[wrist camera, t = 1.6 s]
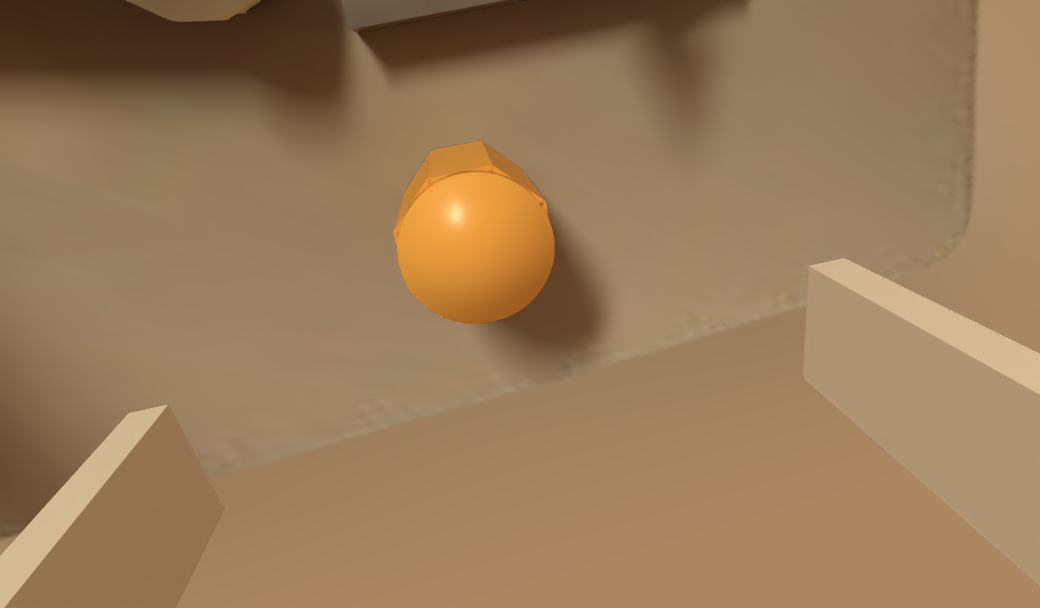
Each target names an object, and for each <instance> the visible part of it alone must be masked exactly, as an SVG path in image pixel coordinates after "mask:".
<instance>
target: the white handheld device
mask: <svg viewBox="0 0 1040 608" xmlns="http://www.w3.org/2000/svg"><path fill="white" fill-rule="evenodd" d="M125 1H128V2H130V3H132V4H134V5H137V6H139V7H141V8H143V9H146V10H148V11H150V12H152V13H155V14H157V15H159V16H161V17H164V18H166V19H168V20H170V21H178V22H192V21H218V20H228V19H230V18H231V17H233V16H234V15H235V14H247V10H248V9H250V8H251V7H253V6H254V5H256V4H257V3H259V2H260V1H262V0H125Z"/></svg>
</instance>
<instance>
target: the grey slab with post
mask: <svg viewBox="0 0 1040 608" xmlns="http://www.w3.org/2000/svg"><path fill="white" fill-rule="evenodd" d="M520 1H525V0H341V2H342V6H343V9H344V13H345V17H346V20H347V24H348V28H349V30H352V31H354V32H360V31H366V30H371V29H376V28H381V27H387V26H392V25H397V24H403V23H408V22H413V21H419V20H424V19H429V18H435V17H440V16H445V15H451V14H456V13H461V12H467V11H472V10H477V9H483V8H488V7H493V6H498V5H504V4H509V3H514V2H520Z"/></svg>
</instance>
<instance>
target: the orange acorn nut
mask: <svg viewBox="0 0 1040 608" xmlns="http://www.w3.org/2000/svg"><path fill="white" fill-rule="evenodd" d="M393 234H394V238H395V241H396V245H397V248H398V261H399V265H400V270H401V272H402V275H403V278H404V280H405V282H406V284H407V286H408V288H409V290H410V292H412V293H413V295H414V296H415V297H416V298H417V299H418V300H419V301H420V302H421V303H422V304H423V305H424V306H426V307H427V308H428V309H430V310H431V311H433V312H434V313H436V314H438V315H440V316H442V317H444V318H447V319H450V320H453V321H457V322H462V323H472V324H477V323H488V322H494V321H497V320H501V319H504V318H506V317H509V316H511V315H513V314H515V313H516V312H518V311H520V310H521V309H523V308H524V307H525V306H527V305H528V304H529V303H530V302H531V301H532V300H533V299H534V298H535V297H536V296H537V295H538V294H539V292H540V291H541V290H542V288H543V286H544V285H545V283H546V281H547V279H548V277H549V275H550V272H551V269H552V266H553V262H554V261H555V257H554V252H555V243H554V235H553V230H552V227H551V224H550V221H549V219H548V213H547V206H546V201H545V200H544V198H543V197H542V196H541V194H540V193H539V192H538V190H537V189H536V188H535V186H534V185H533V184H532V182H531V181H530V180H529V178H528V177H527V176H526V174H525V173H524V172H523V170H522V169H521V168H519V167H518V166H516V165H515V164H514V163H512V162H511V161H509V160H508V159H506V158H505V157H504V156H502V155H501V154H499V153H498V152H496V151H495V150H493V149H492V148H491V147H489V146H488V145H486V144H485V143H483V142H482V141H476V142H471V143H466V144H461V145H456V146H451V147H446V148H441V149H436V150H431V151H430V152H429V154H428V156H427V157H426V159H425V160H424V162H423V164H422V165H421V167H420V169H419V170H418V172H417V173H416V175H415V177H414V178H413V180H412V182H411V183H410V185H409V186H408V188H407V190H406V191H405V193H404V196H403V200H402V203H401V207H400V210H399V214H398V218H397V221H396V225H395V228H394V232H393Z"/></svg>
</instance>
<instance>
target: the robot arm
mask: <svg viewBox="0 0 1040 608" xmlns="http://www.w3.org/2000/svg"><path fill="white" fill-rule="evenodd" d="M804 352H805V353H804V370H803V378H804V379H805V380H806V381H807V382H808V383H809V384H811V385H812V386H813V387H814V388H815V389H816V390H817V391H818V392H820V393H821V394H822V395H823V396H824V397H825V398H826V399H828V400H829V401H830V402H831V403H832V404H833V405H834V406H836V407H837V408H838V409H839V410H840V411H841V412H842V413H844V414H845V415H846V416H847V417H848V418H849V419H850V420H852V421H853V422H854V423H855V424H856V425H857V426H858V427H859V428H861V429H862V430H863V431H864V432H865V433H866V434H867V435H869V436H870V437H871V438H872V439H873V440H874V441H876V442H877V443H878V444H879V445H880V446H881V447H882V448H883V449H885V450H886V451H887V452H888V453H889V454H890V455H891V456H892V457H894V458H895V459H896V460H897V461H898V462H899V463H900V464H902V465H903V466H904V467H905V468H906V469H908V471H910V472H911V473H912V474H913V475H914V476H915V477H917V478H918V479H919V480H920V481H921V482H922V483H923V484H925V485H926V486H927V487H928V488H929V489H930V490H931V491H932V492H933V493H935V494H936V495H937V496H938V497H939V498H940V499H942V500H943V501H944V502H945V503H946V504H947V505H948V506H949V507H951V508H952V509H953V510H954V511H955V512H956V513H957V514H959V515H960V516H961V517H962V518H963V519H964V520H965V521H967V522H968V523H969V524H970V525H971V526H972V527H973V528H975V529H976V530H977V531H978V532H979V533H980V534H981V535H982V536H984V537H985V538H986V539H987V540H988V541H989V542H990V543H992V544H993V545H994V546H995V547H996V548H997V549H999V550H1000V551H1001V552H1002V553H1003V554H1004V555H1005V556H1006V557H1007V558H1009V559H1010V560H1011V561H1012V562H1014V564H1015V565H1017V566H1018V567H1019V568H1020V569H1021V570H1022V571H1023V572H1025V573H1026V574H1027V575H1028V576H1029V577H1030V578H1031V579H1033V580H1034V581H1035V582H1036V583H1037V584H1038V585H1039V586H1040V354H1039V353H1037V352H1035V351H1033V350H1031V349H1029V348H1027V347H1025V346H1023V345H1020V344H1019V343H1016V342H1014V341H1012V340H1010V339H1008V338H1006V337H1004V336H1002V335H1000V334H998V333H996V332H994V331H992V330H990V329H988V328H986V327H984V326H982V325H980V324H977V323H975V322H974V321H971V320H969V319H967V318H965V317H963V316H961V315H959V314H957V313H955V312H953V311H951V310H949V309H947V308H945V307H943V306H941V305H939V304H936V303H935V302H933V301H931V300H928V299H926V298H924V297H922V296H920V295H918V294H916V293H914V292H912V291H910V290H908V289H906V288H904V287H902V286H900V285H898V284H896V283H894V282H892V281H890V280H888V279H886V278H883V277H881V276H879V275H877V274H875V273H873V272H871V271H869V270H867V269H865V268H863V267H861V266H859V265H857V264H855V263H853V262H851V261H849V260H847V259H845V258H844V259H839V260H835V261H830V262H825V263H821V264H816V265H811V266H809V274H808V293H807V313H806V332H805V351H804ZM223 510H224V506H223V505H222V503H221V501H220V499H219V497H218V496H217V494H216V492H215V490H214V488H213V486H212V484H211V482H210V481H209V479H208V477H207V475H206V473H205V471H204V470H203V468H202V466H201V464H200V462H199V460H198V459H197V457H196V455H195V453H194V451H193V449H192V447H191V446H190V444H189V442H188V440H187V438H186V436H185V435H184V433H183V431H182V429H181V427H180V425H179V424H178V422H177V420H176V418H175V416H174V414H173V412H172V411H171V409H170V407H169V405H165V406H160V407H155V408H151V409H146V410H141V411H137V412H132V413H129V414H128V415H127V416H126V417H125V418H124V419H123V420H122V421H121V422H120V424H119V425H118V426H117V427H116V428H115V429H114V430H113V431H112V432H111V434H110V435H109V436H108V437H107V438H106V439H105V440H104V441H103V442H102V444H101V445H100V446H99V447H98V448H97V449H96V450H95V451H94V452H93V454H92V455H91V456H90V457H89V458H88V459H87V460H86V461H85V462H84V464H83V465H82V466H81V467H80V468H79V469H78V470H77V471H76V472H75V474H74V475H73V476H72V477H71V478H70V479H69V480H68V481H67V482H66V483H65V485H64V486H63V487H62V488H61V489H60V490H59V491H58V492H57V493H56V495H55V496H54V497H53V498H52V499H51V500H50V501H49V502H48V503H47V505H46V506H45V507H44V508H43V509H42V510H41V511H40V512H39V513H38V515H37V516H36V517H35V518H34V519H33V520H32V521H31V522H30V523H29V525H28V526H27V527H26V528H25V529H24V530H23V531H22V532H21V533H20V535H19V536H18V537H17V538H16V539H15V540H14V541H13V542H12V544H11V545H10V546H9V547H8V548H7V549H6V550H5V551H4V552H3V554H1V556H0V608H176V606H177V604H178V602H179V600H180V598H181V596H182V594H183V591H184V590H185V588H186V586H187V583H188V581H189V579H190V577H191V575H192V573H193V571H194V569H195V567H196V565H197V563H198V561H199V559H200V557H201V555H202V553H203V551H204V549H205V547H206V545H207V543H208V541H209V539H210V537H211V535H212V533H213V531H214V529H215V526H216V525H217V523H218V521H219V519H220V516H221V515H222V513H223Z"/></svg>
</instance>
